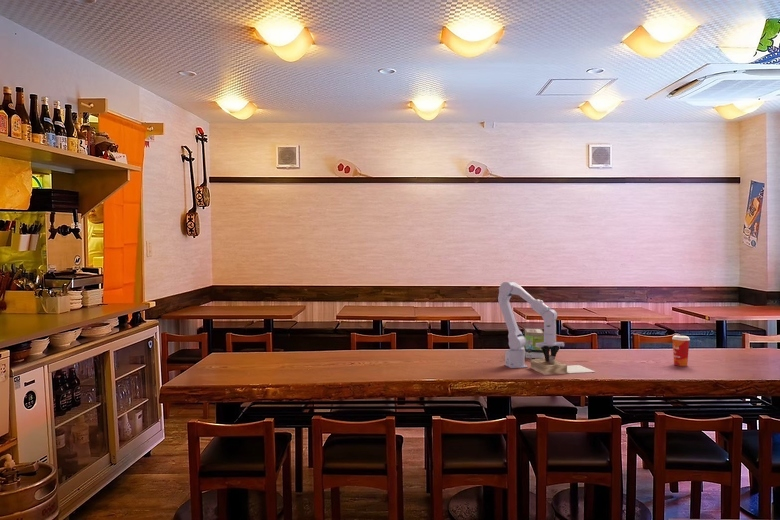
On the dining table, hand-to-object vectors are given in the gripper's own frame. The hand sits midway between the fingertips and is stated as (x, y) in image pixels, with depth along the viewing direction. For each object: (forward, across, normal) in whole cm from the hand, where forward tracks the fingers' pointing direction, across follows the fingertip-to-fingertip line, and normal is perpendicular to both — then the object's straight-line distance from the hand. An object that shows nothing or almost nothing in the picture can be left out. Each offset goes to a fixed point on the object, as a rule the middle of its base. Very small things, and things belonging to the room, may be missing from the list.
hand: (549, 361), depth 249 cm
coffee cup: (+5, +73, -1) cm, 73 cm away
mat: (+5, +13, 0) cm, 14 cm away
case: (+5, -1, 0) cm, 5 cm away
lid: (+1, 0, 0) cm, 1 cm away
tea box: (+5, +8, +34) cm, 35 cm away
